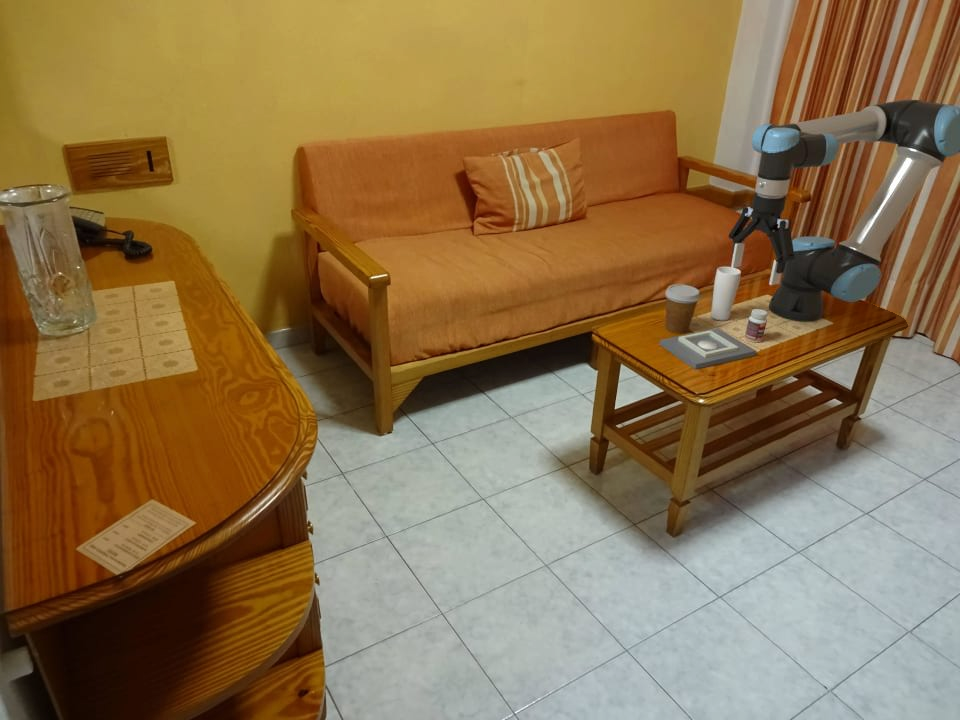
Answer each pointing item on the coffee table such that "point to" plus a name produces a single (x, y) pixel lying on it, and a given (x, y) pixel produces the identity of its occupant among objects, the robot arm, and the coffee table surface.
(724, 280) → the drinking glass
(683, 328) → the disposable coffee cup
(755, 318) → the pill bottle
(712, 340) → the socket plate
